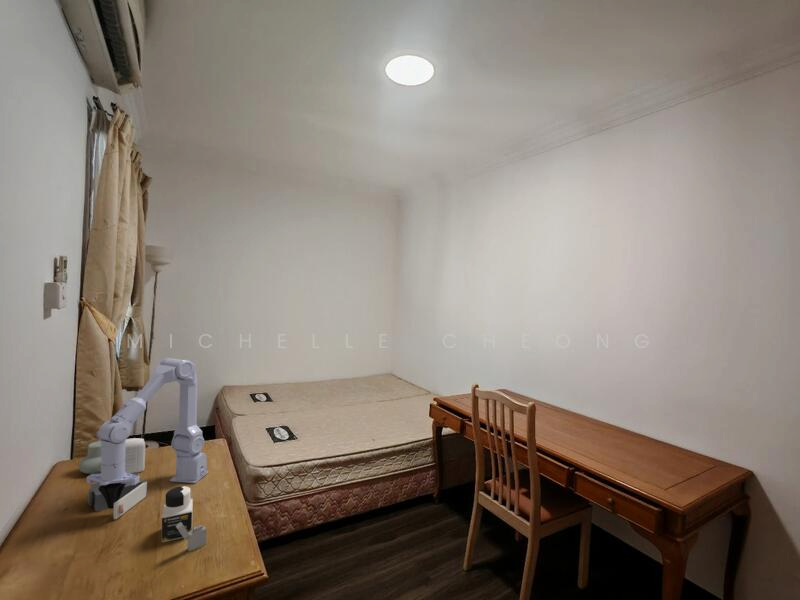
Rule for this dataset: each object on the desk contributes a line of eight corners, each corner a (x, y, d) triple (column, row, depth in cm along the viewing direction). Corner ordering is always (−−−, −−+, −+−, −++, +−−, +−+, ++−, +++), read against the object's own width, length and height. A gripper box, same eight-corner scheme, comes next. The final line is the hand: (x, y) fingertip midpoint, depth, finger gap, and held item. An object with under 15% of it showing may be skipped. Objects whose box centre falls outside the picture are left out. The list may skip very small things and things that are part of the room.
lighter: (203, 541, 102) (204, 512, 102) (206, 544, 101) (207, 514, 101) (174, 554, 97) (175, 523, 97) (177, 557, 96) (177, 526, 96)
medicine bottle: (161, 543, 101) (162, 499, 101) (163, 528, 107) (164, 486, 107) (191, 536, 104) (192, 493, 104) (192, 521, 111) (193, 481, 110)
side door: (144, 495, 123) (145, 481, 123) (150, 495, 123) (150, 481, 123) (113, 519, 110) (113, 503, 110) (119, 519, 110) (119, 503, 110)
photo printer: (145, 467, 143) (145, 434, 143) (144, 471, 139) (145, 438, 139) (110, 473, 137) (111, 439, 137) (109, 478, 134) (110, 444, 133)
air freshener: (102, 462, 146) (102, 436, 145) (120, 465, 144) (121, 439, 144) (73, 476, 135) (73, 448, 135) (92, 478, 133) (92, 450, 133)
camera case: (135, 486, 129) (135, 470, 129) (142, 496, 123) (143, 479, 123) (86, 501, 119) (86, 483, 119) (91, 513, 113) (92, 494, 113)
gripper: (77, 466, 109) (77, 513, 109) (127, 468, 108) (126, 515, 109) (98, 456, 116) (97, 500, 116) (144, 458, 116) (144, 501, 116)
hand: (112, 506), depth 113 cm, fingers closed
